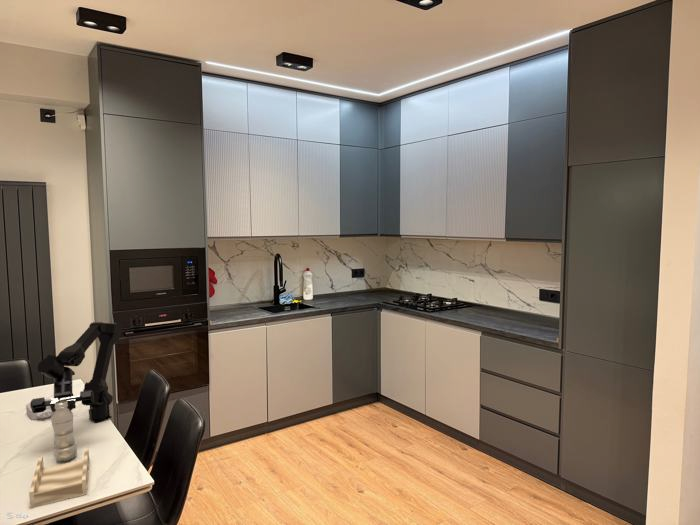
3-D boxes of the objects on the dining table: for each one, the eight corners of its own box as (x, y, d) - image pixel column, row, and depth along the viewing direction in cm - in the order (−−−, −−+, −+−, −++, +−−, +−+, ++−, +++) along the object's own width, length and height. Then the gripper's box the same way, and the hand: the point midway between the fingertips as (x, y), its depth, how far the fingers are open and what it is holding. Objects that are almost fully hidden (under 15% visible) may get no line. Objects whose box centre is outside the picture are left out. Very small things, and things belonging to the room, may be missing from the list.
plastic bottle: (82, 455, 170) (77, 399, 168) (64, 465, 164) (59, 406, 161) (67, 453, 172) (62, 396, 170) (50, 462, 166) (44, 404, 163)
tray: (40, 470, 161) (39, 457, 160) (89, 460, 167) (88, 447, 166) (30, 507, 140) (29, 492, 140) (86, 494, 146) (85, 479, 146)
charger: (34, 425, 196) (26, 414, 207) (61, 418, 202) (52, 408, 213) (33, 413, 196) (25, 403, 207) (60, 407, 202) (51, 397, 213)
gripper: (94, 389, 188) (95, 428, 179) (36, 398, 180) (34, 439, 171) (91, 374, 180) (93, 415, 171) (31, 383, 172) (29, 426, 163)
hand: (63, 424), depth 169 cm, fingers closed
